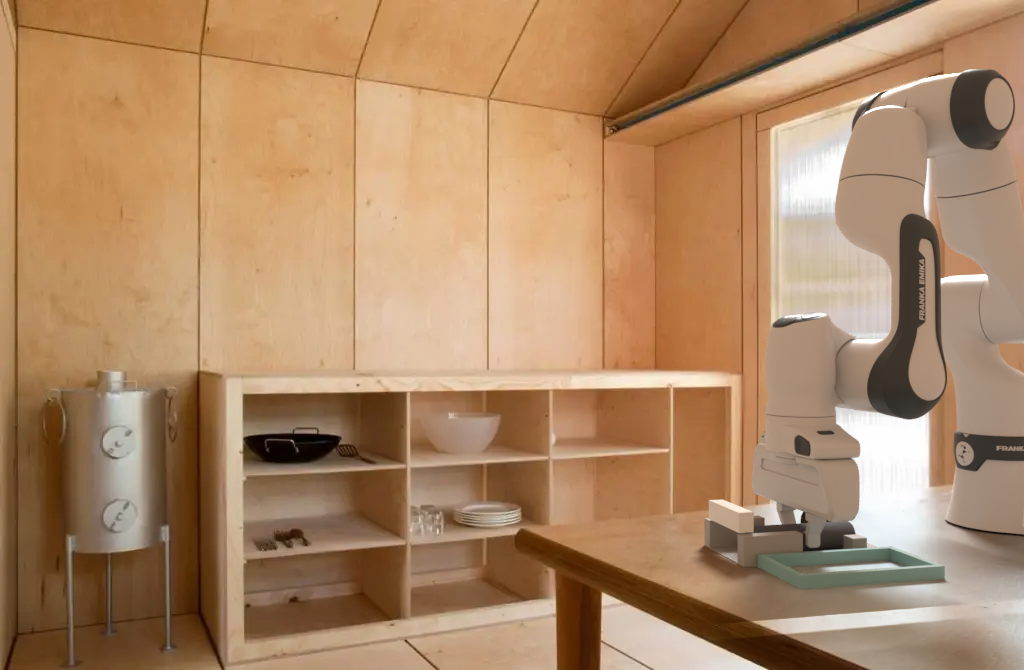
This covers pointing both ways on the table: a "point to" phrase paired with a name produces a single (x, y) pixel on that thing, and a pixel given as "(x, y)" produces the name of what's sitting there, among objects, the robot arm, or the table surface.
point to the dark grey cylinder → (828, 538)
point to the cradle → (762, 542)
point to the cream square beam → (731, 516)
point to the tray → (913, 571)
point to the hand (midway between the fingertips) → (800, 541)
